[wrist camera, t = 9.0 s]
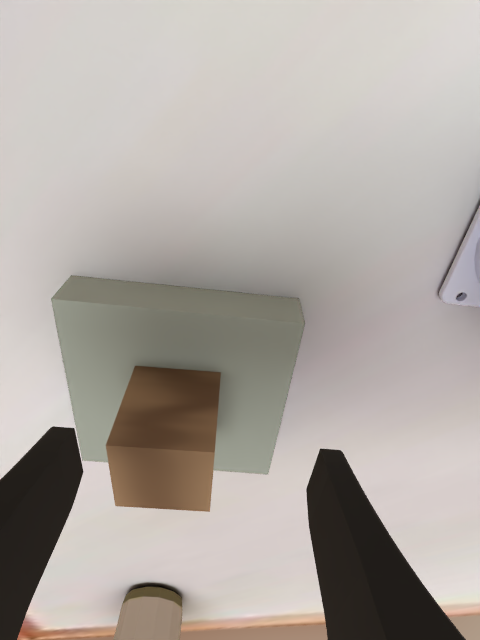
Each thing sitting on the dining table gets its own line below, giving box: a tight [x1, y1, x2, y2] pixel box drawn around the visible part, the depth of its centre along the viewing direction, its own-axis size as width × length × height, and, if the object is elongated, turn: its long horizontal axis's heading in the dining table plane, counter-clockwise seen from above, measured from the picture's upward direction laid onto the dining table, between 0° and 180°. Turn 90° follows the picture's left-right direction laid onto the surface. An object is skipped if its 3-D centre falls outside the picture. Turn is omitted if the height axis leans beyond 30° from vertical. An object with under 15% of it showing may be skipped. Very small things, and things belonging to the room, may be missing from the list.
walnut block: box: [106, 366, 221, 512], centre depth 19 cm, size 4×4×5 cm
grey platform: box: [51, 275, 305, 474], centre depth 22 cm, size 12×12×3 cm
